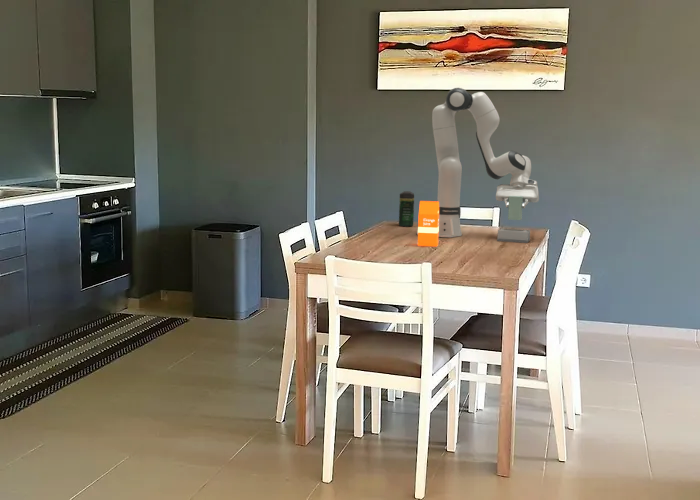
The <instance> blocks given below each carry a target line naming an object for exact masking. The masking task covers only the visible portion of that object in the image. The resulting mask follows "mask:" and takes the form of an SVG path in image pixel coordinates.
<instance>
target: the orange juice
mask: <svg viewBox="0 0 700 500" xmlns="http://www.w3.org/2000/svg"><path fill="white" fill-rule="evenodd" d="M418 208H419V209H418V219H417V220H418V222H417V223H418V226H417V231H418V235H417V246H418V247H421V246H422V247H438V246H439V238H440V237H439V201H436V200H435V201H432V200H420V201H419V207H418Z"/></svg>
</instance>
